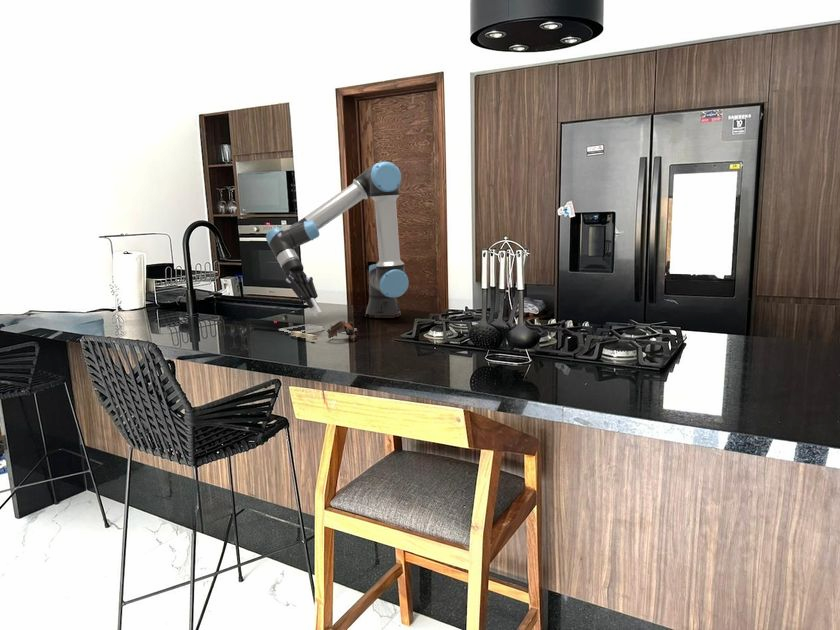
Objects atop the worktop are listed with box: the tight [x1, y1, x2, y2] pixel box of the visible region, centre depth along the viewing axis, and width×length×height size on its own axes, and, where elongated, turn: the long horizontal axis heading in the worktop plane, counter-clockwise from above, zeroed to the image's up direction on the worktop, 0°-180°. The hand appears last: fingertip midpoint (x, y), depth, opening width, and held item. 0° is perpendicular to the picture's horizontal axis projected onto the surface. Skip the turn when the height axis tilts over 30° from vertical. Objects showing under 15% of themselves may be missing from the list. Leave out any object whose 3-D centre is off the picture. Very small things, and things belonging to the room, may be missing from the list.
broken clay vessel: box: [326, 320, 357, 340], centre depth 220 cm, size 12×10×8 cm
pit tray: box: [277, 323, 325, 333], centre depth 236 cm, size 10×14×2 cm
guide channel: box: [290, 323, 358, 341], centre depth 226 cm, size 14×19×2 cm
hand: (318, 314), depth 228 cm, fingers closed
